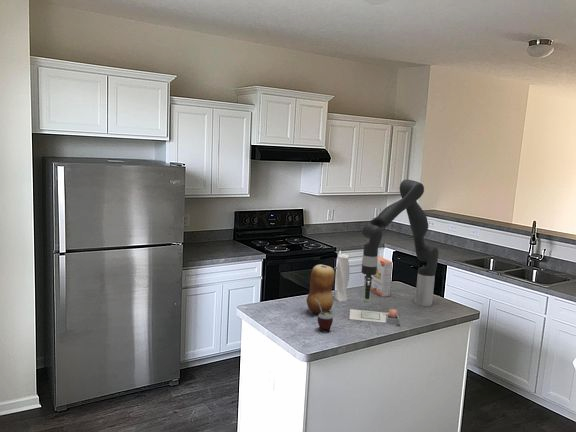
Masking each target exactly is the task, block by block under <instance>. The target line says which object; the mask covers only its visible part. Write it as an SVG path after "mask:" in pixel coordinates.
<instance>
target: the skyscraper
mask: <svg viewBox="0 0 576 432" xmlns="http://www.w3.org/2000/svg"><path fill="white" fill-rule="evenodd" d="M337 254H338V255H337V259H338V260H337V264H336V270H335V286H336V293H335V296H334V299H335V300H336V301H338V302H348V297H347V289H348V285H349V281H350V273H351V272H350V271H351V270H350V262H349V259H350V257H351V255H350V254H349V255H347V254H345V253H344V254H343V253H342V250H339V252H338V253H337Z"/></svg>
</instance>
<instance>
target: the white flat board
mask: <svg viewBox="0 0 576 432" xmlns="http://www.w3.org/2000/svg"><path fill="white" fill-rule="evenodd" d="M349 320H350V321H360V322H368V323H378V324H389V325H395V326H396V327H400V326H401V323H400V316H399V313H398V312H397V317H396V318H393V317H389V311H388V312H387V311H377V310H367V309H360V308H359V309H358V308H357V309H356V308H348V321H349Z"/></svg>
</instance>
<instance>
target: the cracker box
mask: <svg viewBox="0 0 576 432" xmlns="http://www.w3.org/2000/svg"><path fill="white" fill-rule="evenodd" d="M377 259H378V261H377V273H376V274H375V275H371V277H372V278H373V279H372V286H371V292H373V293H374V294H376V295H378V296H379V297H381V298H385V297H391V287H392V286H391V285H392V274H393V273H392V272H393V264H394V263H393V261H390V260H388V259H386V258H385V257H383V256H380V255H379V256H377Z"/></svg>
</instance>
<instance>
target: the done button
mask: <svg viewBox="0 0 576 432" xmlns="http://www.w3.org/2000/svg"><path fill="white" fill-rule="evenodd" d="M388 312H389V317H393V318H396V317H397V313H398V309H395V308H389V310H388Z"/></svg>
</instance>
